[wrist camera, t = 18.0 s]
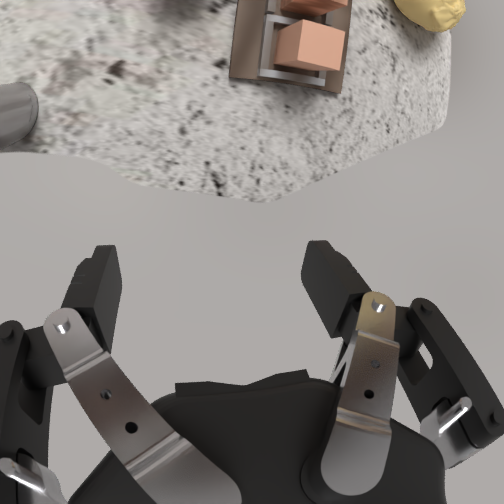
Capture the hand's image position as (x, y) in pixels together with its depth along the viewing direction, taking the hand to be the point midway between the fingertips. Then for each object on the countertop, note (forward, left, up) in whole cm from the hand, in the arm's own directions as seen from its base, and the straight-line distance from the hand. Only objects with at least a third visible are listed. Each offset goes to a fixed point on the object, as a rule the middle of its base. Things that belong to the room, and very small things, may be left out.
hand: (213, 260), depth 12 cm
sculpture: (+32, +30, -30) cm, 53 cm away
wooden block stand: (+12, +17, -30) cm, 37 cm away
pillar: (+12, +13, -29) cm, 34 cm away
